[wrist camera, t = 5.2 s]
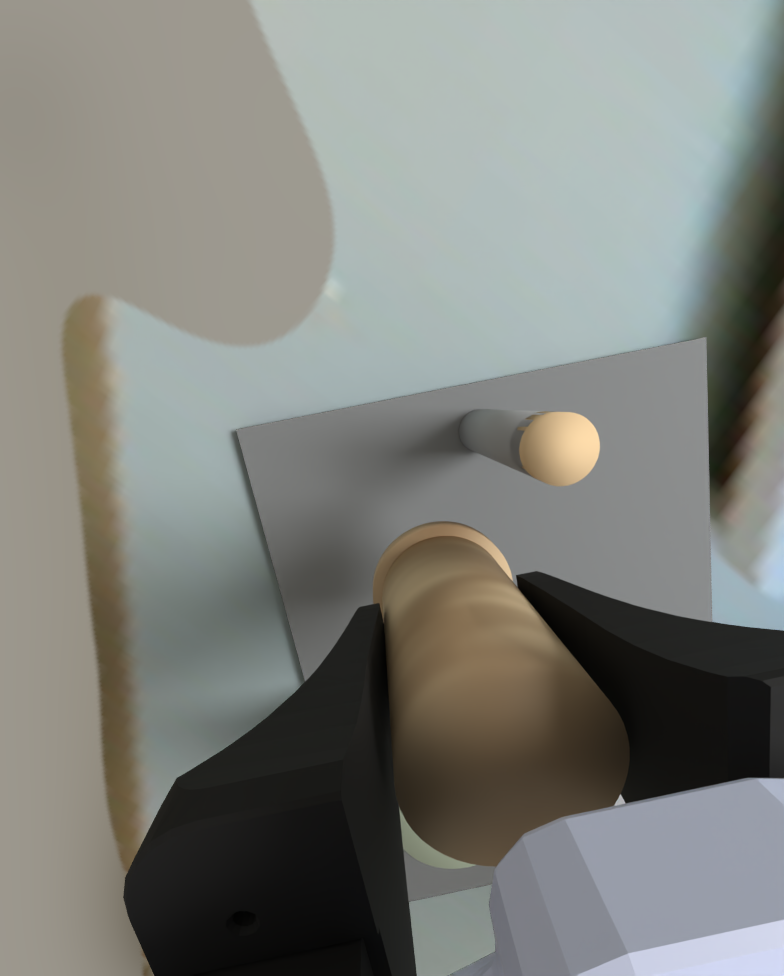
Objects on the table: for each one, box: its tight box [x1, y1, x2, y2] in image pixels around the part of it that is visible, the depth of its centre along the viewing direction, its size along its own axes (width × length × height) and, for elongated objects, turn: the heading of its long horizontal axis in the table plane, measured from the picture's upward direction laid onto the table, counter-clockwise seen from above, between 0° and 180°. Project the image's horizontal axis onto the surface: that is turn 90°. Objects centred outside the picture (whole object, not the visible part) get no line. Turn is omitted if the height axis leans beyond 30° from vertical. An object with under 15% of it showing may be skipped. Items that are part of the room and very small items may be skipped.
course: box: [236, 337, 712, 902], centre depth 16 cm, size 20×27×8 cm
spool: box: [373, 521, 630, 867], centre depth 10 cm, size 5×5×7 cm
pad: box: [399, 807, 475, 869], centre depth 21 cm, size 7×7×1 cm
